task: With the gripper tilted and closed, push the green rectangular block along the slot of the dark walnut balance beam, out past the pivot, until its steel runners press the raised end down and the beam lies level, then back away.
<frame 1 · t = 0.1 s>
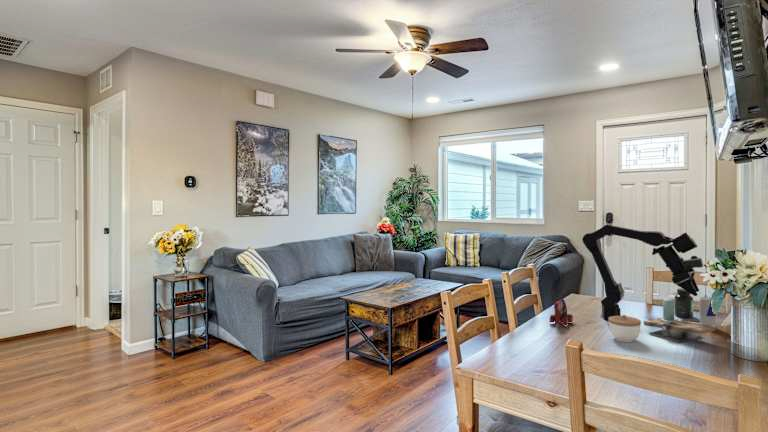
hand: (697, 293, 169), 15 cm above the table, tool tilted 30°, fingers open, 9 cm apart
supplement bottle: (683, 316, 189), on the table
green rectangular block: (668, 311, 166), point 9 cm above the table, slide at -2.5 cm
beam stand: (675, 335, 164), on the table
balance beam: (678, 325, 163), point 4 cm above the table, hinge at -6.0°
lidded jar: (624, 340, 162), on the table
energy drink: (707, 328, 172), on the table
dark red irregular piece: (561, 324, 184), on the table
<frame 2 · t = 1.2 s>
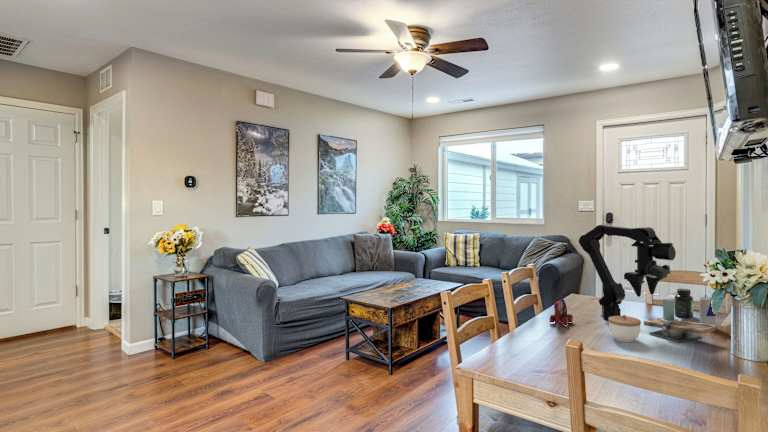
hand: (645, 295, 176), 13 cm above the table, tool pointing down, fingers open, 8 cm apart
nothing on the table moved.
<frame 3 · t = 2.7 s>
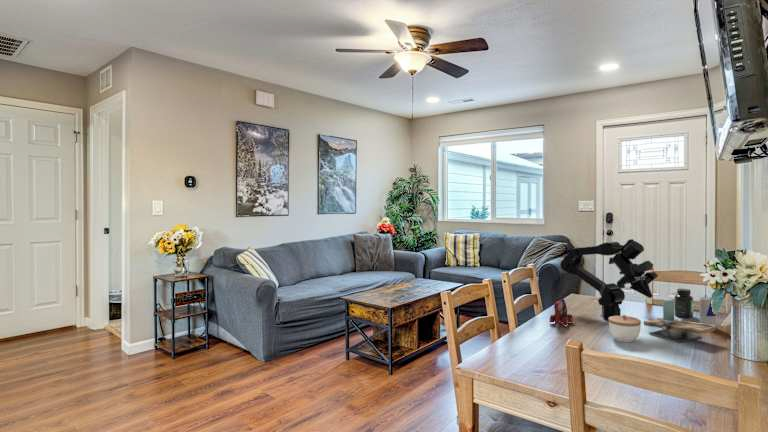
hand: (651, 297, 172), 13 cm above the table, tool tilted 45°, fingers closed
nothing on the table moved.
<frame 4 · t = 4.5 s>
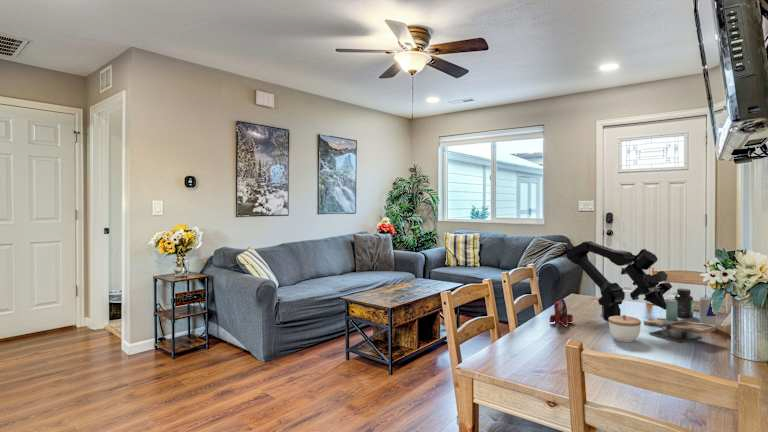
hand: (666, 308, 167), 10 cm above the table, tool tilted 45°, fingers closed, pressing on green rectangular block
green rectangular block: (671, 311, 165), point 9 cm above the table, slide at -1.4 cm, touching gripper
everything else where it was.
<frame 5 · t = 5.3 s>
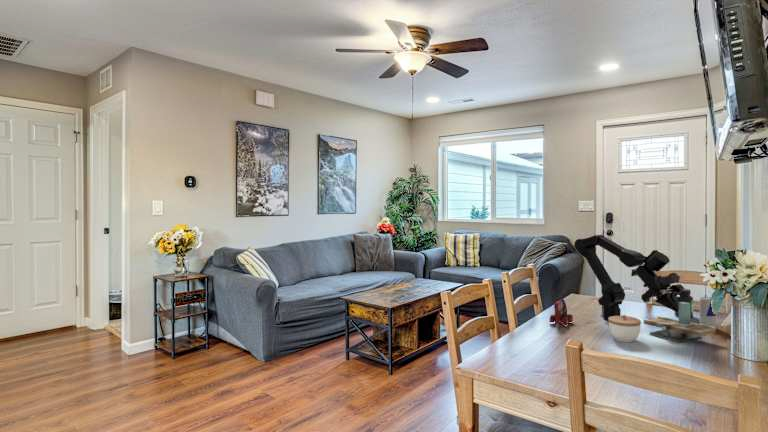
hand: (678, 311, 162), 10 cm above the table, tool tilted 45°, fingers closed, pressing on green rectangular block
green rectangular block: (684, 314, 160), point 9 cm above the table, slide at 3.3 cm, touching gripper
balance beam: (678, 325, 163), point 4 cm above the table, hinge at -2.6°
everything else where it was.
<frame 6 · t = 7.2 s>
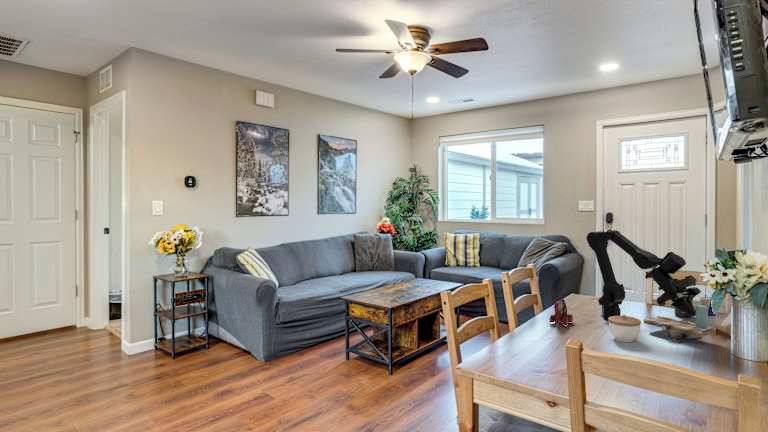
hand: (695, 315, 157), 10 cm above the table, tool tilted 45°, fingers closed, pressing on green rectangular block
green rectangular block: (701, 318, 155), point 9 cm above the table, slide at 9.3 cm, touching balance beam, gripper
balance beam: (678, 325, 163), point 4 cm above the table, hinge at -1.2°, touching green rectangular block
everything else where it was.
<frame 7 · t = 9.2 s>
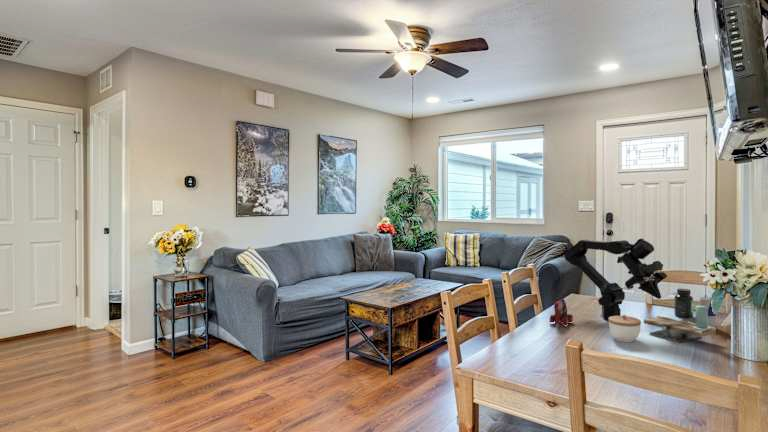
hand: (660, 298, 169), 13 cm above the table, tool tilted 40°, fingers closed
green rectangular block: (701, 318, 155), point 9 cm above the table, slide at 9.3 cm, touching balance beam
everything else where it was.
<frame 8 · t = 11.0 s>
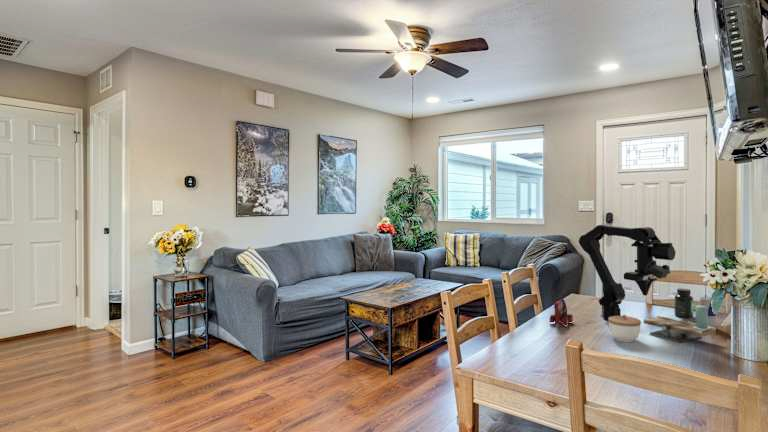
hand: (645, 295, 176), 13 cm above the table, tool pointing down, fingers closed
nothing on the table moved.
at the end: balance beam at -1° (first picture: -6°); green rectangular block slide at 9.3 cm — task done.
